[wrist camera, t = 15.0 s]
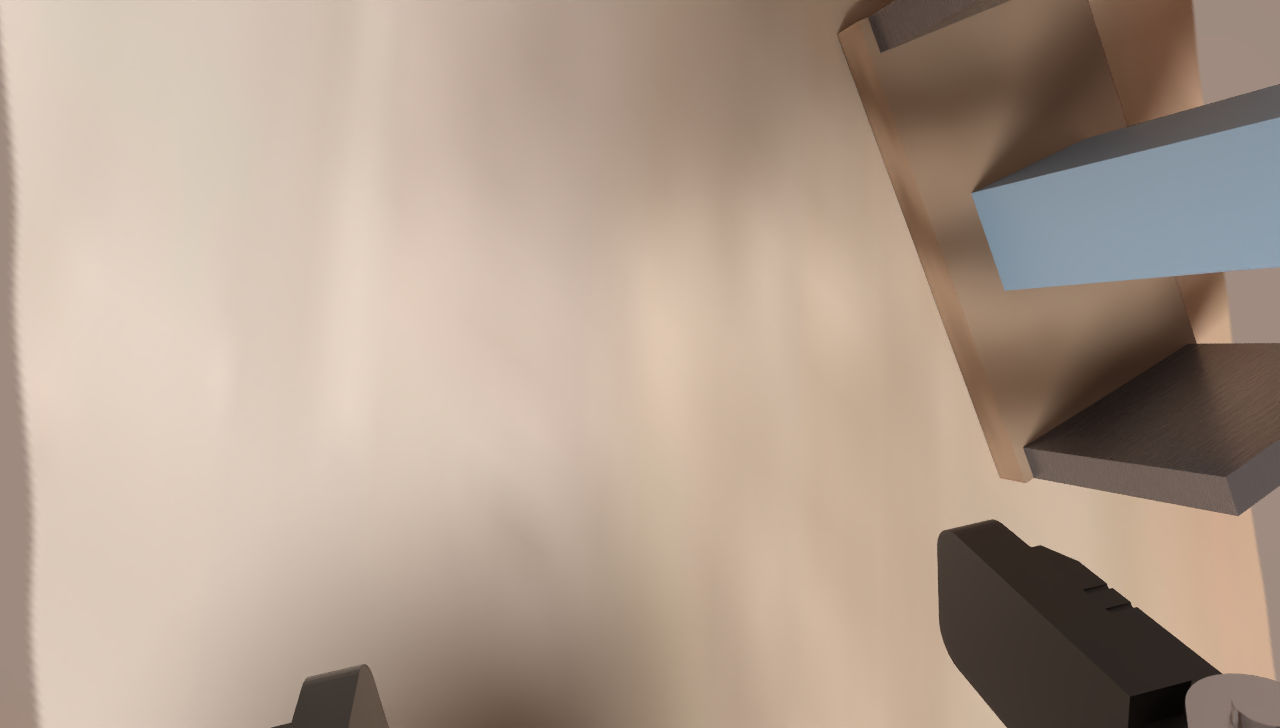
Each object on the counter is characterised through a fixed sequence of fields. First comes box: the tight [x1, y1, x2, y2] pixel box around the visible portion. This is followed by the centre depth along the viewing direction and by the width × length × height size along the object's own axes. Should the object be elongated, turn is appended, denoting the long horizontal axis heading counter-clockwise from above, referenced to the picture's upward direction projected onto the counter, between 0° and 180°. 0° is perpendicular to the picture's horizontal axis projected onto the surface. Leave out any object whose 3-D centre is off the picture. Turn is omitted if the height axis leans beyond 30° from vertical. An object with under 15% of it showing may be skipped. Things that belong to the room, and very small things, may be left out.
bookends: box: [868, 0, 1280, 516], centre depth 33 cm, size 21×11×9 cm, turn 24°
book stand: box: [837, 0, 1197, 483], centre depth 38 cm, size 21×12×2 cm, turn 24°
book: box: [971, 84, 1280, 291], centre depth 30 cm, size 4×7×16 cm, turn 113°
